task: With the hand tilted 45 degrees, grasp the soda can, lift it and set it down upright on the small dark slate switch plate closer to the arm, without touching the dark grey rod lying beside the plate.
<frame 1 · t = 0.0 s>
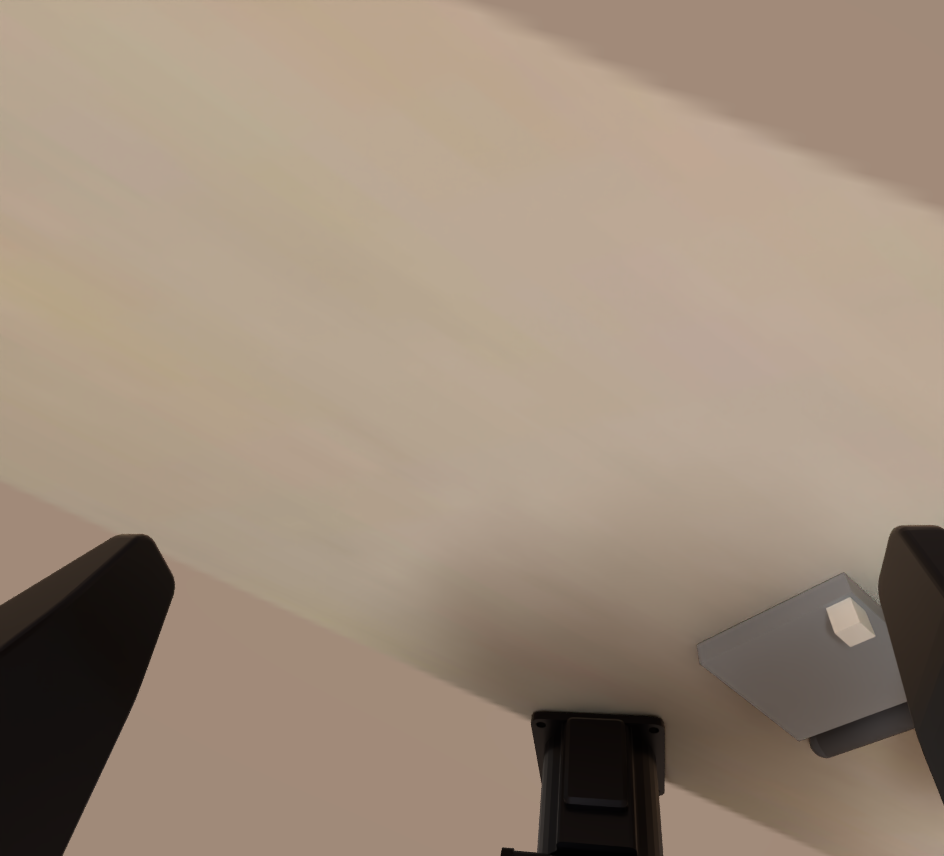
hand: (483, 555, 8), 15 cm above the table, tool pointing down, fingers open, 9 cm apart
switch plate: (816, 653, 29), on the table
dark grey rod: (880, 709, 31), on the table
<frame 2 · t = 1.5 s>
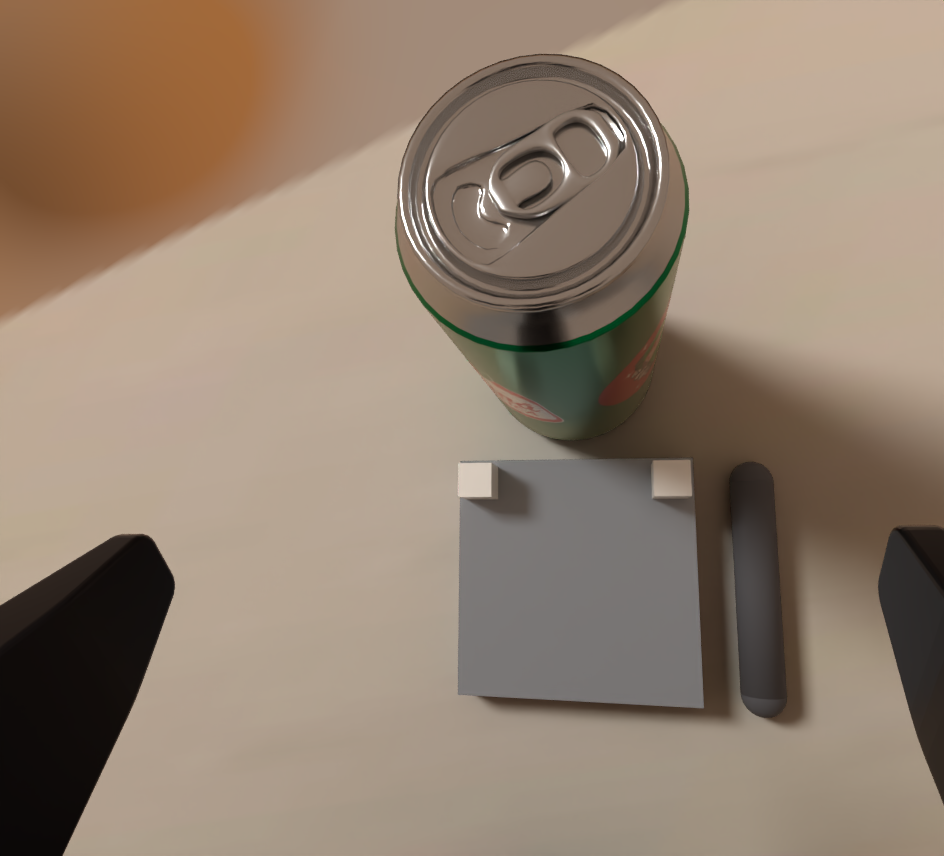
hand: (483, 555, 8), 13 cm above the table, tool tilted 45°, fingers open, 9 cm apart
switch plate: (576, 575, 21), on the table
dark grey rod: (753, 584, 20), on the table
soda can: (572, 367, 22), on the table
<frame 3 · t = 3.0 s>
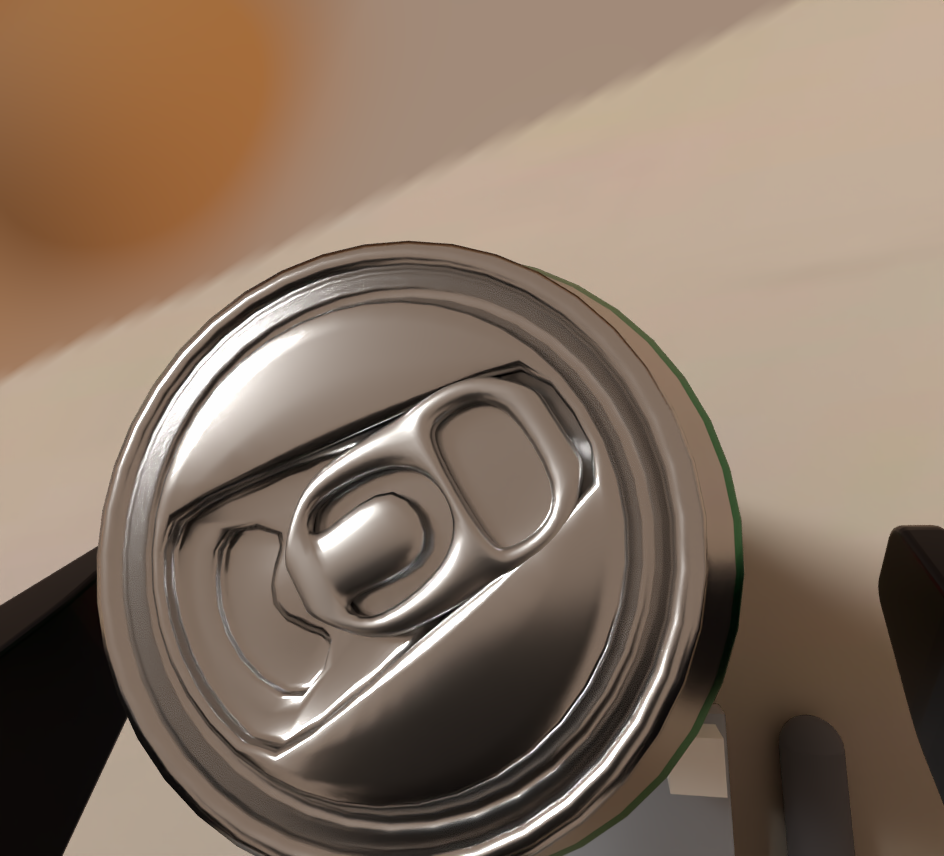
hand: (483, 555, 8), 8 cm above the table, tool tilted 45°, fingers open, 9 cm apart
soda can: (552, 555, 16), on the table
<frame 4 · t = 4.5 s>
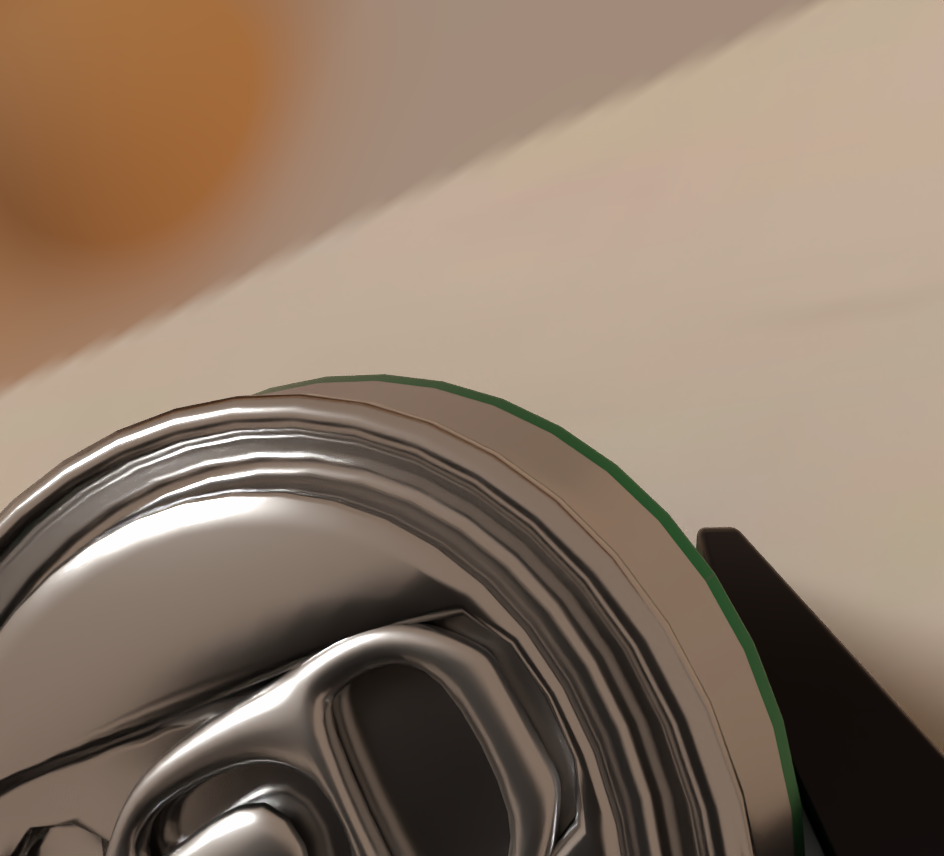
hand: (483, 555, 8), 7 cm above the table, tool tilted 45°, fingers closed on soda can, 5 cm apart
soda can: (545, 624, 15), on the table, touching gripper
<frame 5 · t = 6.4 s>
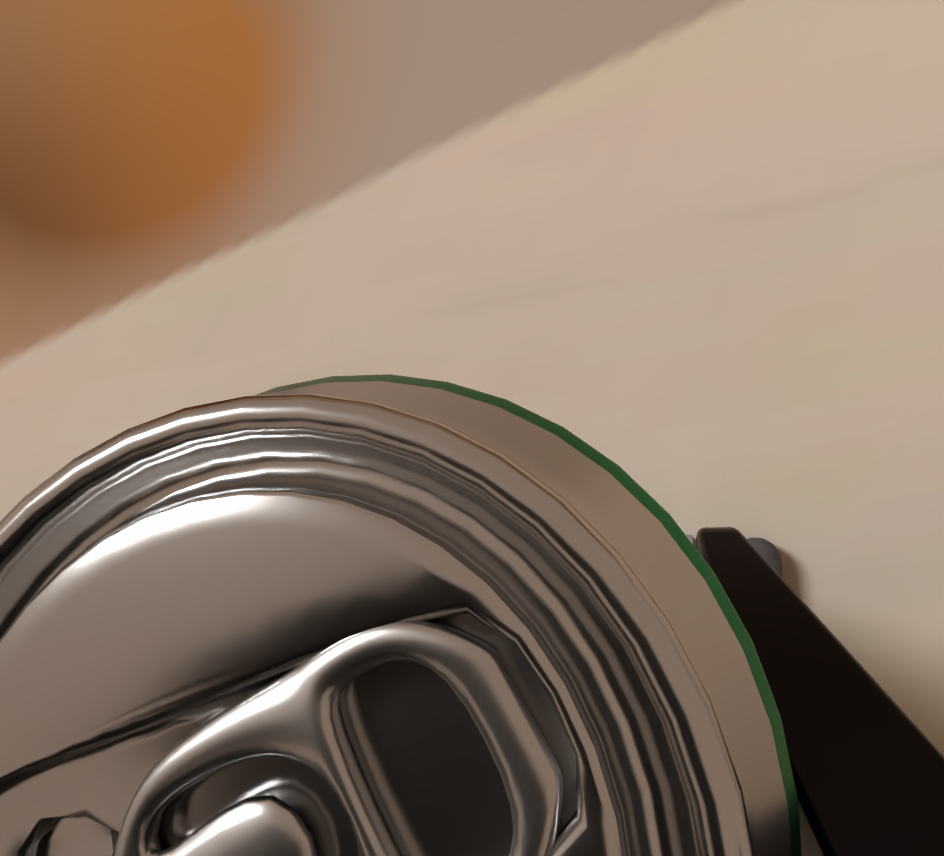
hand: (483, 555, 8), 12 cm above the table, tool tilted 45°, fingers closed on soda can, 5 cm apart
dark grey rod: (761, 671, 19), on the table
soda can: (545, 621, 15), point 5 cm above the table, touching gripper
when the fingers open (8 cm above the table, at t = 8.4 s): soda can stays where it is, resting on switch plate.
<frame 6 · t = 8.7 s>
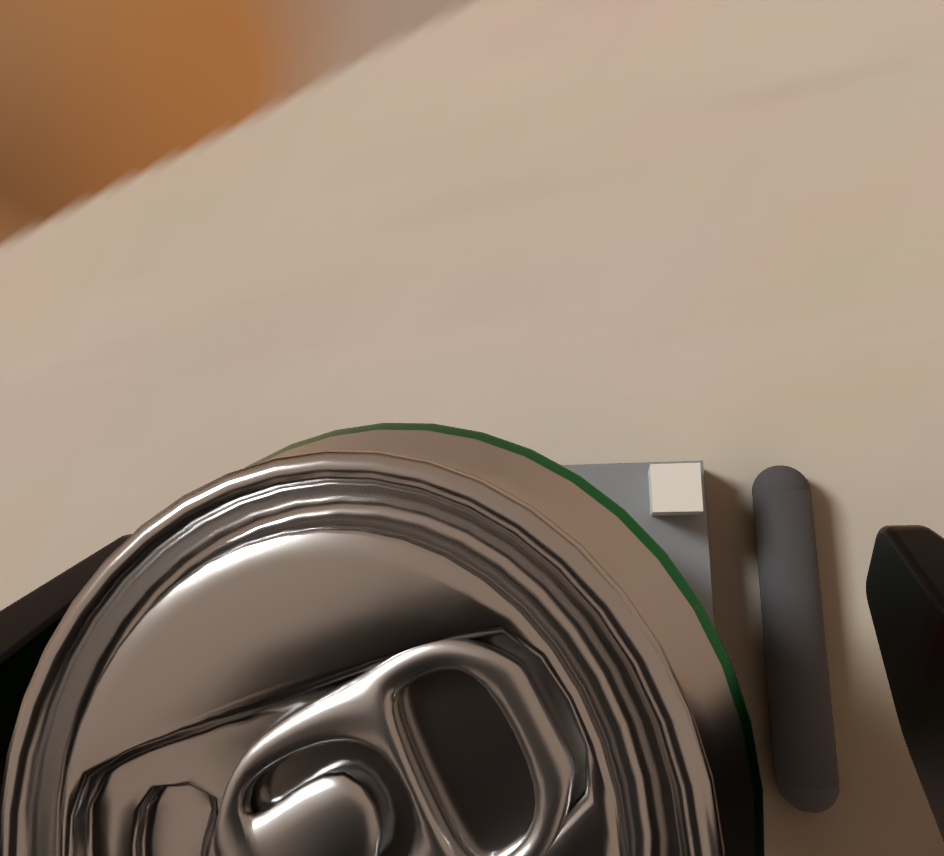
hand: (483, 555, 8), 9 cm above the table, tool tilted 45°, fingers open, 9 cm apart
switch plate: (554, 616, 16), on the table
dark grey rod: (786, 627, 15), on the table
soda can: (549, 624, 15), point 1 cm above the table, touching switch plate
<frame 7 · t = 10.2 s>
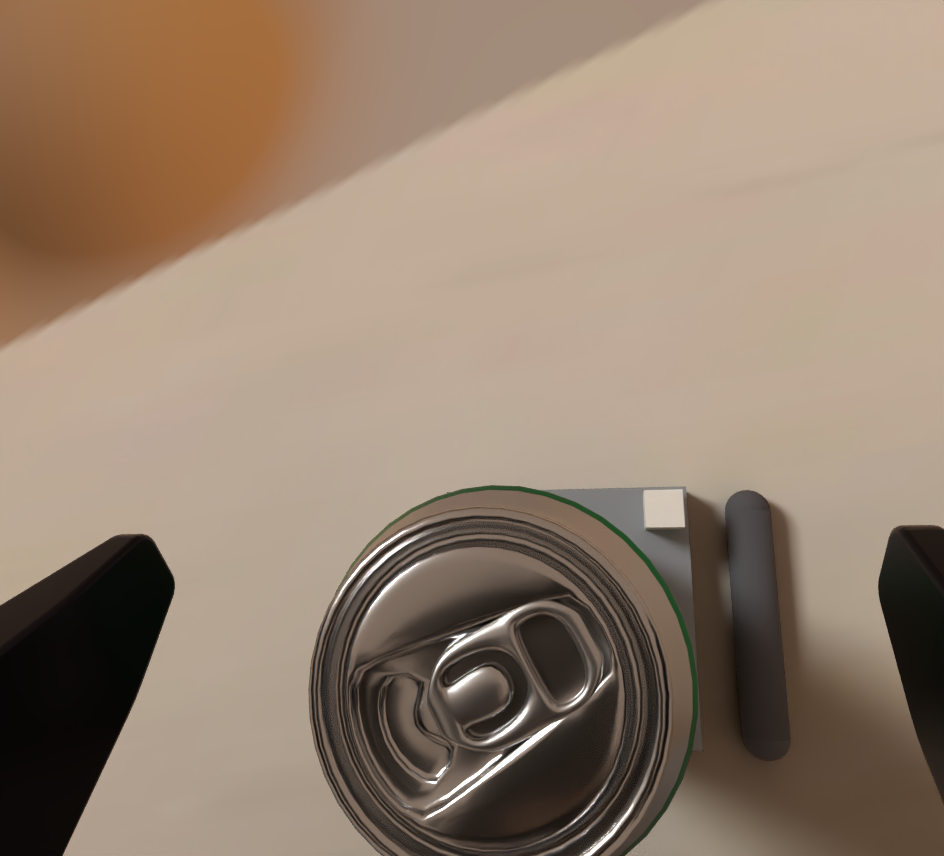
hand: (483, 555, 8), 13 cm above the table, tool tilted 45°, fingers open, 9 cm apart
switch plate: (568, 610, 20), on the table
dark grey rod: (752, 618, 19), on the table
soda can: (564, 615, 20), point 1 cm above the table, touching switch plate
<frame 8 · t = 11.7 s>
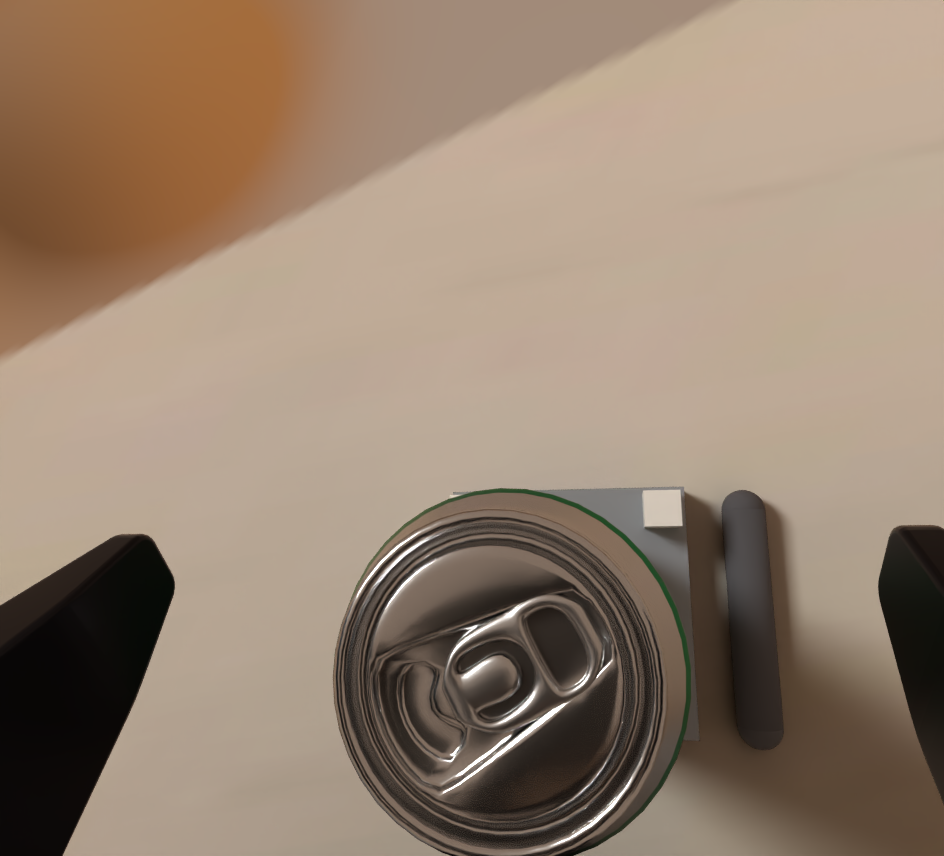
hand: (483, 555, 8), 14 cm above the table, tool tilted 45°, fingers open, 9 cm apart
switch plate: (570, 605, 21), on the table
dark grey rod: (747, 613, 20), on the table
soda can: (566, 611, 20), point 1 cm above the table, touching switch plate
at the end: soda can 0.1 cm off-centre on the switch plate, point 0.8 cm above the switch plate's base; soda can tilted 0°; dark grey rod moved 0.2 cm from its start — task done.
